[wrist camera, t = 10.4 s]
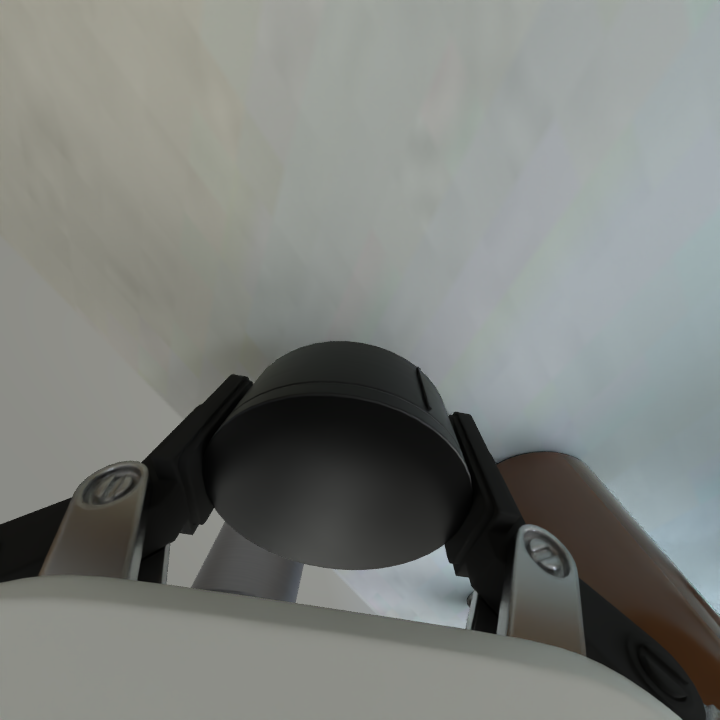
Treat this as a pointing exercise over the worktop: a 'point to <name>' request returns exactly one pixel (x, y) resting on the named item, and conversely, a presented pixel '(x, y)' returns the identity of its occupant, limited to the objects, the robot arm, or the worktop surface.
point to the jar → (619, 560)
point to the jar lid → (340, 460)
